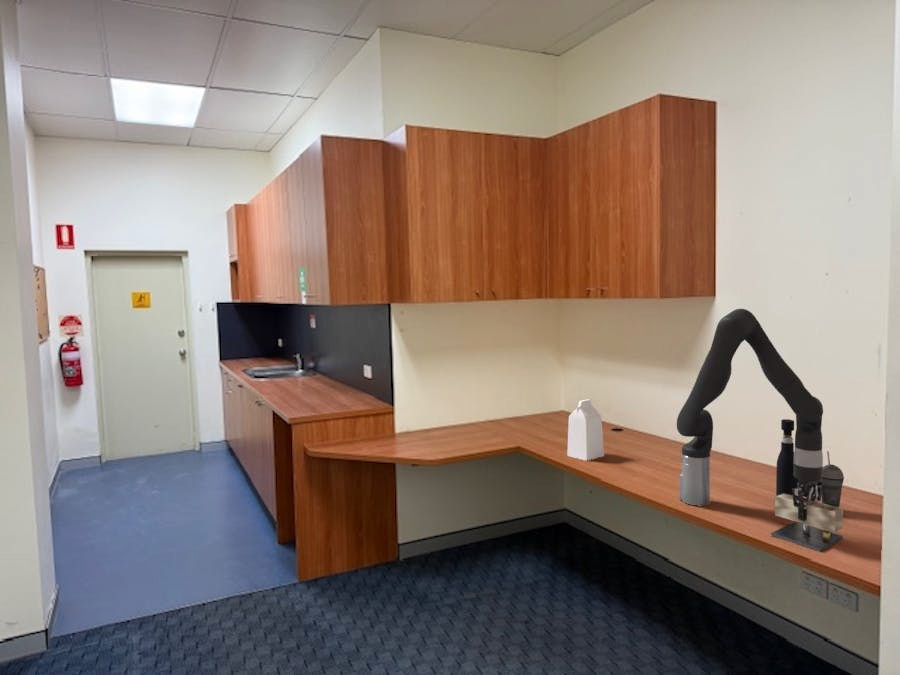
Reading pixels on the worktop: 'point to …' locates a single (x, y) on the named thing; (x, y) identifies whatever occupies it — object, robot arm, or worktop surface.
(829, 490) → the grey tapered rounded cylinder
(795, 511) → the bar
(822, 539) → the mounting plate
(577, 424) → the milk
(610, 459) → the worktop surface
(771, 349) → the robot arm
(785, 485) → the wine bottle
